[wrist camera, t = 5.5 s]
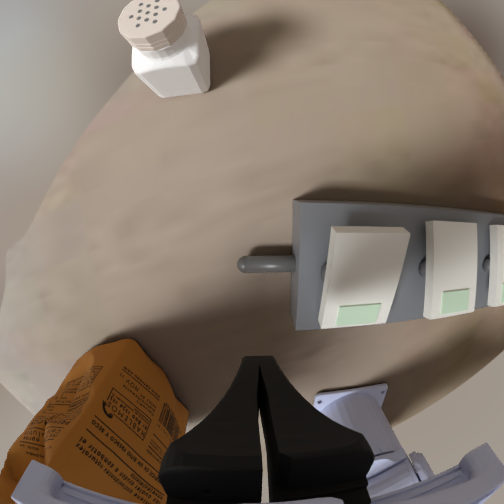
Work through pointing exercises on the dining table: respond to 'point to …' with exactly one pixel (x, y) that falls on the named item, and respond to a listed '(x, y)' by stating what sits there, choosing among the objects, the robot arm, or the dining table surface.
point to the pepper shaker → (166, 47)
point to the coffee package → (104, 427)
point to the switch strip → (374, 215)
